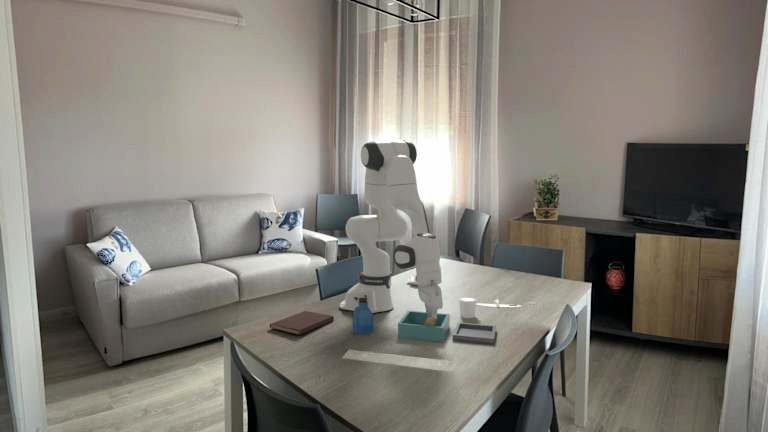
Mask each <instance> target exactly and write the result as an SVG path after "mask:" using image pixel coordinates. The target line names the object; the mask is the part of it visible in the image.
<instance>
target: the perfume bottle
mask: <svg viewBox="0 0 768 432" xmlns="http://www.w3.org/2000/svg"><path fill="white" fill-rule="evenodd" d="M358 305H359V306H357V307H356V308H355V310H354V311H352V329H353V330H354V333H355V335H361V334H362V335H363V334H373V333H374V315H373V314H374V313H372V312H371V310H370V309H369V307H368V306H367V305H368V302H367V298H359V302H358Z"/></svg>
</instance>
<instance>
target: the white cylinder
mask: <svg viewBox="0 0 768 432" xmlns="http://www.w3.org/2000/svg"><path fill="white" fill-rule="evenodd" d="M477 300H478V299H476V298H475V297H472V296H471V297H470V296H463V297H459V298H458V301H459V315H460V317H461V318H464V319H474V318H475V317H476V316H475V315H476V308H477V305H476V303H477Z"/></svg>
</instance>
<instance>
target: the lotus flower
mask: <svg viewBox="0 0 768 432" xmlns="http://www.w3.org/2000/svg"><path fill="white" fill-rule="evenodd" d="M409 276H410V279H409V278H406V279H407V281H408V282H409V283H410V285H413V286H418V285H417V282H416V278H415V276H416V274H415V275H414V276H412V274H409Z"/></svg>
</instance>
